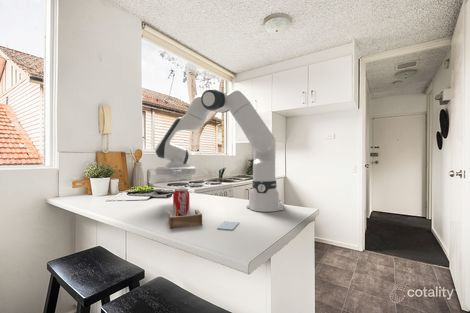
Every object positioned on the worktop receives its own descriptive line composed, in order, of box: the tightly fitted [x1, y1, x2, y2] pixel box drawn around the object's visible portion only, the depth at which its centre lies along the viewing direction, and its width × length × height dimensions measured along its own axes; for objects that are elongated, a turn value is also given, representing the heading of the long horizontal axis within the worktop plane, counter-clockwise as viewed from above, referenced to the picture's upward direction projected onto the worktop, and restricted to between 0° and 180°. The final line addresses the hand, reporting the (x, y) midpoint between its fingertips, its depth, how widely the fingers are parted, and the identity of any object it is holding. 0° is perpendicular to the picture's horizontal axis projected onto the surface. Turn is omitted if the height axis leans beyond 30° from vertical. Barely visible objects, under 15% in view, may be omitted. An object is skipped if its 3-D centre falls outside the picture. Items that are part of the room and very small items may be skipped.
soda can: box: [172, 187, 191, 217], centre depth 100 cm, size 7×7×12 cm
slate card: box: [216, 220, 240, 232], centre depth 85 cm, size 9×6×1 cm, turn 164°
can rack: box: [168, 208, 203, 229], centre depth 89 cm, size 9×12×4 cm
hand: (177, 172), depth 111 cm, fingers closed
